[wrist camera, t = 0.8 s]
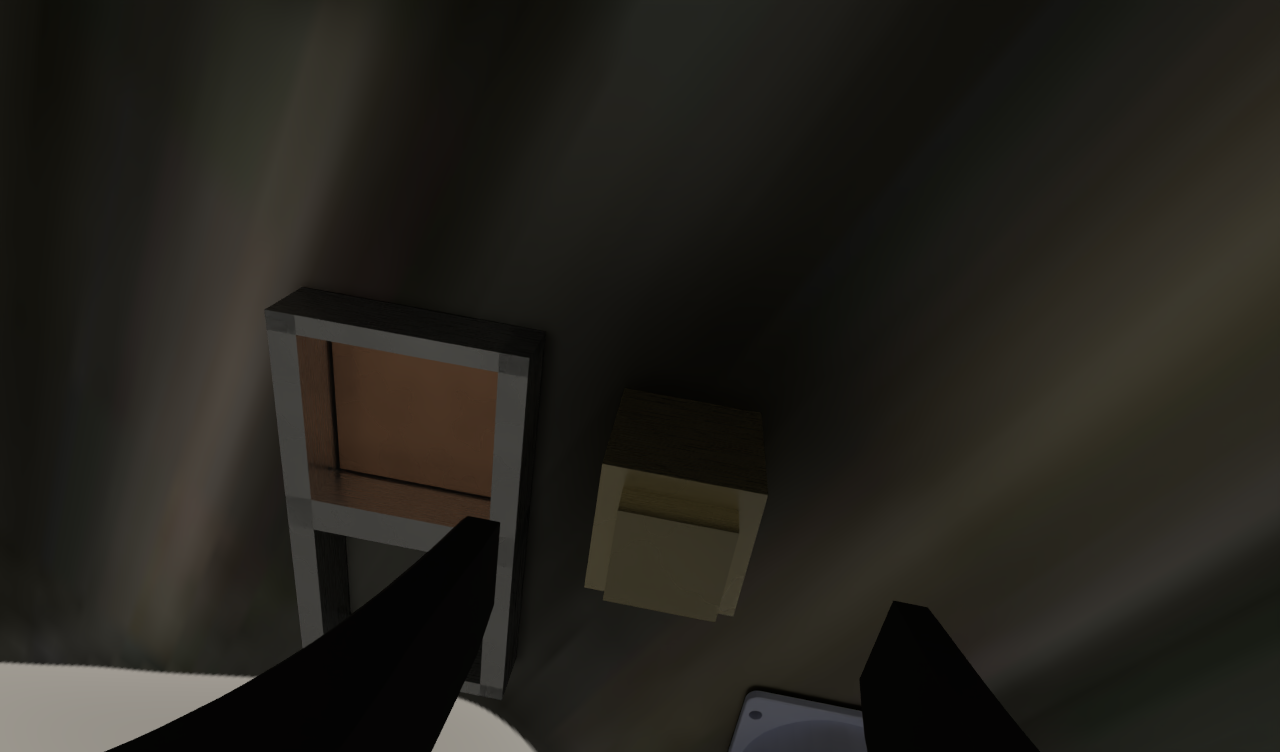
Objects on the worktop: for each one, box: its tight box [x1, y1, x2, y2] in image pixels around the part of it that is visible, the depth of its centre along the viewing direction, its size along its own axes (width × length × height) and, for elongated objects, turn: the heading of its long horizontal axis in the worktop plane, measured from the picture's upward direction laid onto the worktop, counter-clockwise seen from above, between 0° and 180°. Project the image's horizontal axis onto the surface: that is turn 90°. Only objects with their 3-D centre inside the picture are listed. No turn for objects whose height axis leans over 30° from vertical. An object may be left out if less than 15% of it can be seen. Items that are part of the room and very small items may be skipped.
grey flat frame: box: [265, 287, 545, 700], centre depth 25 cm, size 15×8×2 cm, turn 172°
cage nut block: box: [584, 388, 768, 622], centre depth 21 cm, size 4×4×6 cm
